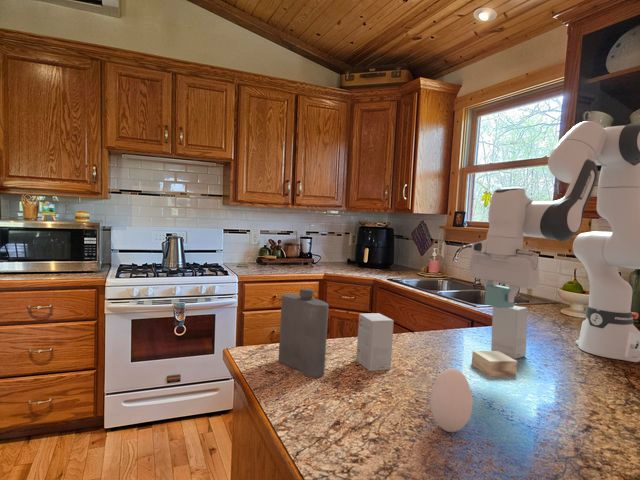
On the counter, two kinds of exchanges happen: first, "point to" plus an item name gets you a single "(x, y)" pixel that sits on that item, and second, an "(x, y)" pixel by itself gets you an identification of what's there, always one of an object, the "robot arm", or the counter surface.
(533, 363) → the counter surface
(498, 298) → the teal cube
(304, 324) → the flask
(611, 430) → the counter surface
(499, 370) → the maple block
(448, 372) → the egg
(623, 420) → the counter surface
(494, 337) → the skincare box
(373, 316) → the small box
